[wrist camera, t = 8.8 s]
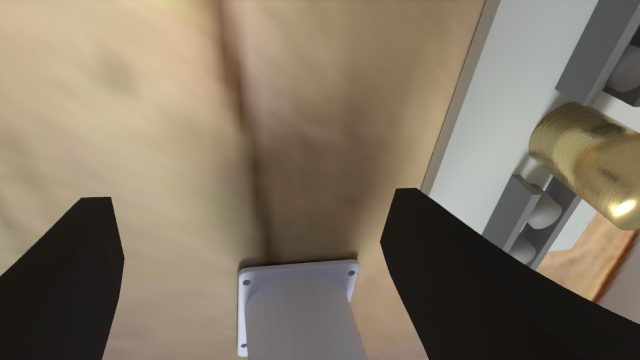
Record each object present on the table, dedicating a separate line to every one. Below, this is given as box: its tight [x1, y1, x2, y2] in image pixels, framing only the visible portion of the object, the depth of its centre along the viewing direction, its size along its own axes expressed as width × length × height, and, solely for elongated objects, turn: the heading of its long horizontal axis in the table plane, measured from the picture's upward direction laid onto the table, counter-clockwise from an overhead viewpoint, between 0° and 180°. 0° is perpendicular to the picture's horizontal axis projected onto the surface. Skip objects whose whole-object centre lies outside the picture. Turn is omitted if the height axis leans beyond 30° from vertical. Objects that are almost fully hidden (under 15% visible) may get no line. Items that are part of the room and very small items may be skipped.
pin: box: [529, 102, 640, 230], centre depth 20 cm, size 4×4×6 cm
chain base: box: [420, 0, 640, 270], centre depth 22 cm, size 20×14×3 cm
